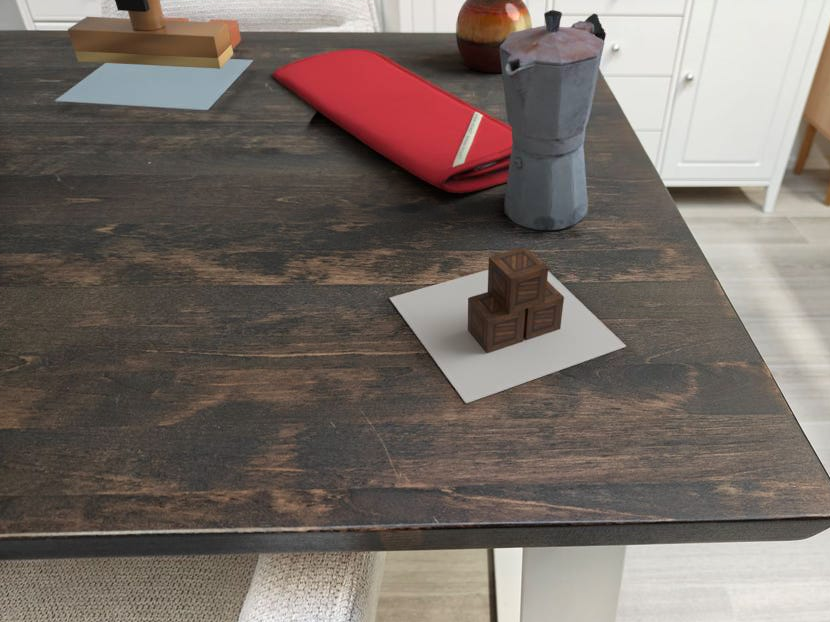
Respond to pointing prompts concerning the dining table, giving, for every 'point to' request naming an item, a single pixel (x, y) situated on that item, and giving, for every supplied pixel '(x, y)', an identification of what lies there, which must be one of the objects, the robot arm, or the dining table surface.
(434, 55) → the dining table surface
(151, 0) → the brush
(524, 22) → the vase
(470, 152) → the dish drying mat
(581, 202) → the moka pot
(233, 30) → the right orange cube
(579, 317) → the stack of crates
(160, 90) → the tray
